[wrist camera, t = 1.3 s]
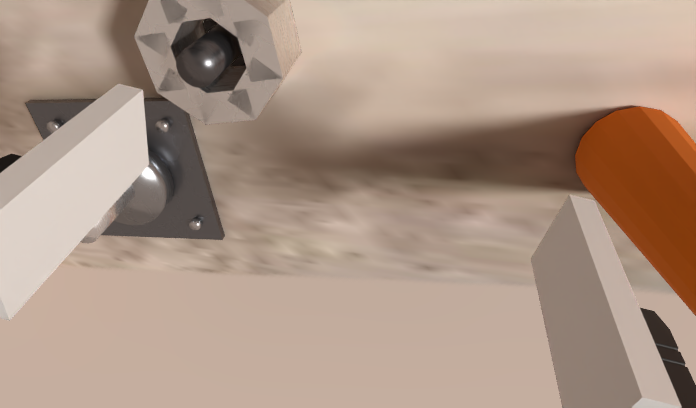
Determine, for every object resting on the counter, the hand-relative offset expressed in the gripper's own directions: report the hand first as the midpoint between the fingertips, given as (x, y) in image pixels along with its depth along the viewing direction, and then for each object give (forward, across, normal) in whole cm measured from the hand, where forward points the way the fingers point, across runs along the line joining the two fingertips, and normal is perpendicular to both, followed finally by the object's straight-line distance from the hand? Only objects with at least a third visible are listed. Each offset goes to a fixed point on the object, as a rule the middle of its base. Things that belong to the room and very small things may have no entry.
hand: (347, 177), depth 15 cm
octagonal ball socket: (+21, -10, -5) cm, 24 cm away
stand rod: (+21, -10, -5) cm, 24 cm away
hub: (+21, -19, -20) cm, 34 cm away
